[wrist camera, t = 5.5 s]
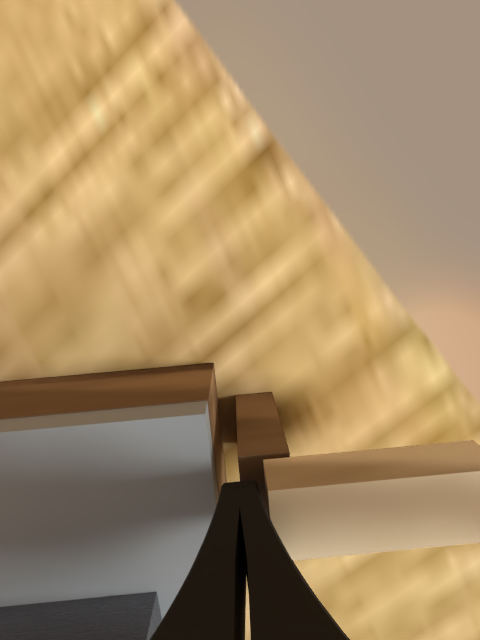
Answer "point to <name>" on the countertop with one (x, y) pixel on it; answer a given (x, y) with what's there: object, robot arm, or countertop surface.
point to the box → (158, 389)
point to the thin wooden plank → (375, 499)
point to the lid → (101, 519)
